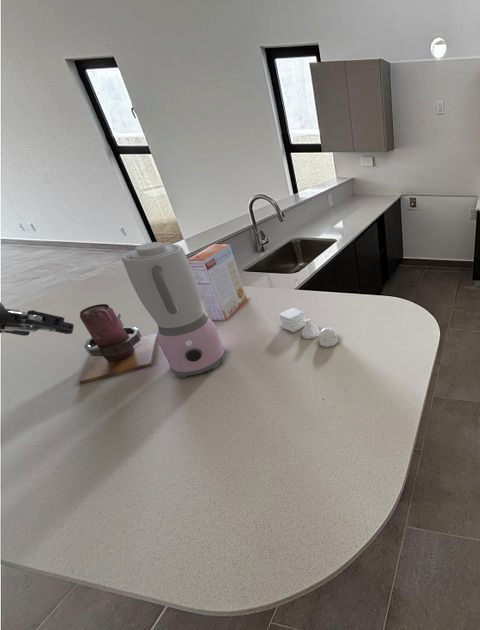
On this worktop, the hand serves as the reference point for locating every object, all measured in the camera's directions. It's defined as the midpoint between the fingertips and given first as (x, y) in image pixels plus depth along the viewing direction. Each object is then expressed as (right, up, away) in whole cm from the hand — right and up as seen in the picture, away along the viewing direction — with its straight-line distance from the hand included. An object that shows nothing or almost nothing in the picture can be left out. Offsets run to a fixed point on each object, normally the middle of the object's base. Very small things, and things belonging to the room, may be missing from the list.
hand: (49, 330), depth 70 cm
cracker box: (+15, +4, +41) cm, 44 cm away
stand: (-1, -9, +19) cm, 20 cm away
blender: (+22, -11, +16) cm, 29 cm away
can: (-1, -8, +18) cm, 19 cm away
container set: (+46, -3, +28) cm, 54 cm away
